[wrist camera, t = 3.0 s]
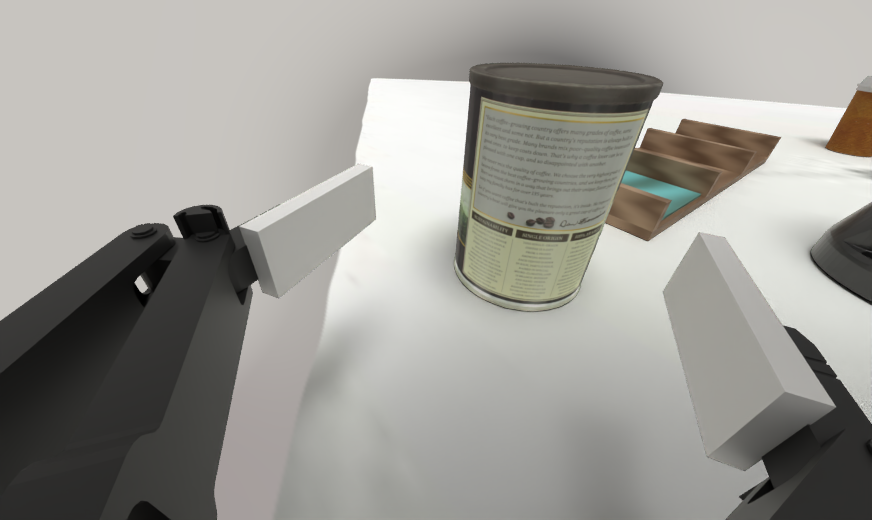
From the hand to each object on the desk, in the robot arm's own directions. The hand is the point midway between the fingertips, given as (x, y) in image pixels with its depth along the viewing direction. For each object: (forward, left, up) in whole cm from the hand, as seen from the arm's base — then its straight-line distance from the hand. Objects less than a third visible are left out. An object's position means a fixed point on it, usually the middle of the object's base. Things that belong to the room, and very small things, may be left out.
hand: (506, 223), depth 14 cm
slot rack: (+7, -44, -9) cm, 46 cm away
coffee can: (+5, -9, -9) cm, 14 cm away
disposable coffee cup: (-7, -90, -9) cm, 90 cm away
